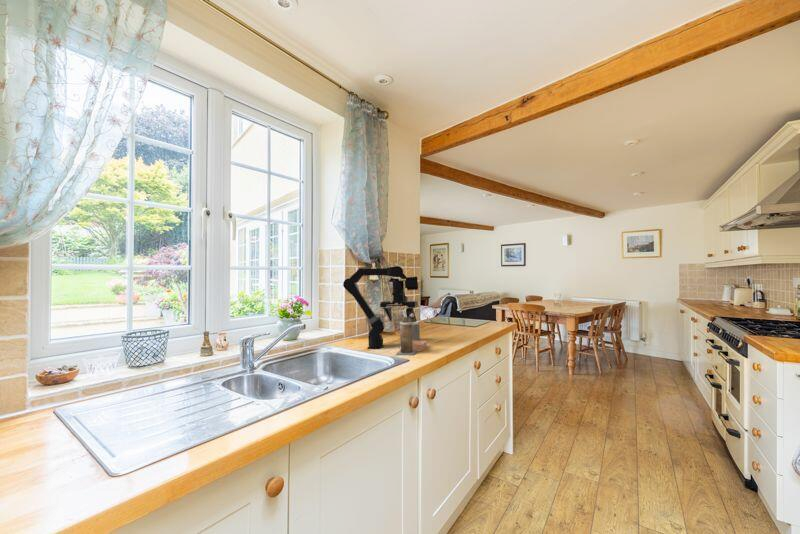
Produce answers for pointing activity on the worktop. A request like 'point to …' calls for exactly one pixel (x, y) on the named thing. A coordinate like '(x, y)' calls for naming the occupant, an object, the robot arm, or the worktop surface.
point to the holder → (419, 345)
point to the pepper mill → (406, 335)
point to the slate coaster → (406, 353)
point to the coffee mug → (415, 331)
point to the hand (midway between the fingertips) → (399, 321)
